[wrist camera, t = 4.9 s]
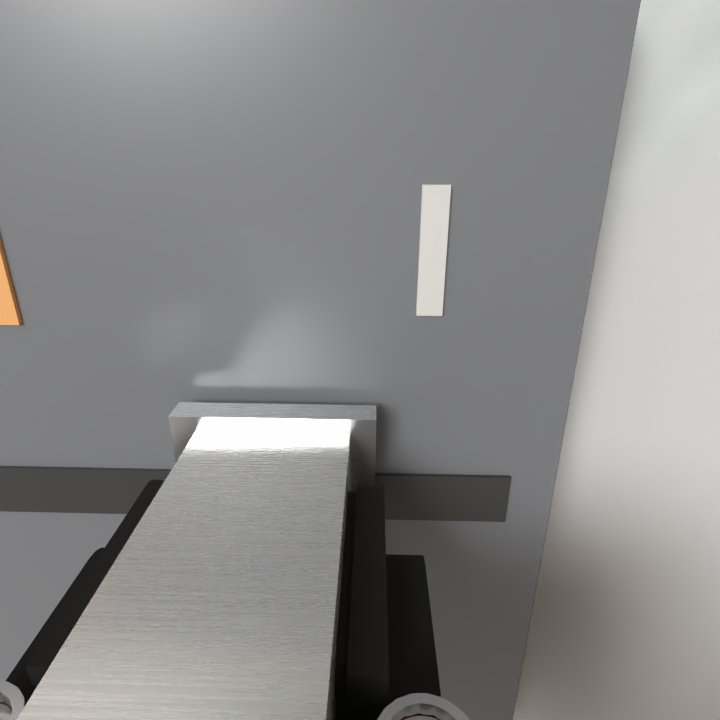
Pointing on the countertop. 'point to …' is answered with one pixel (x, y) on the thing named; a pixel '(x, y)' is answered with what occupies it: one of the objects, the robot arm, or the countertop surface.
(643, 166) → the countertop surface
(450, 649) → the panel
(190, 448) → the slide lever
